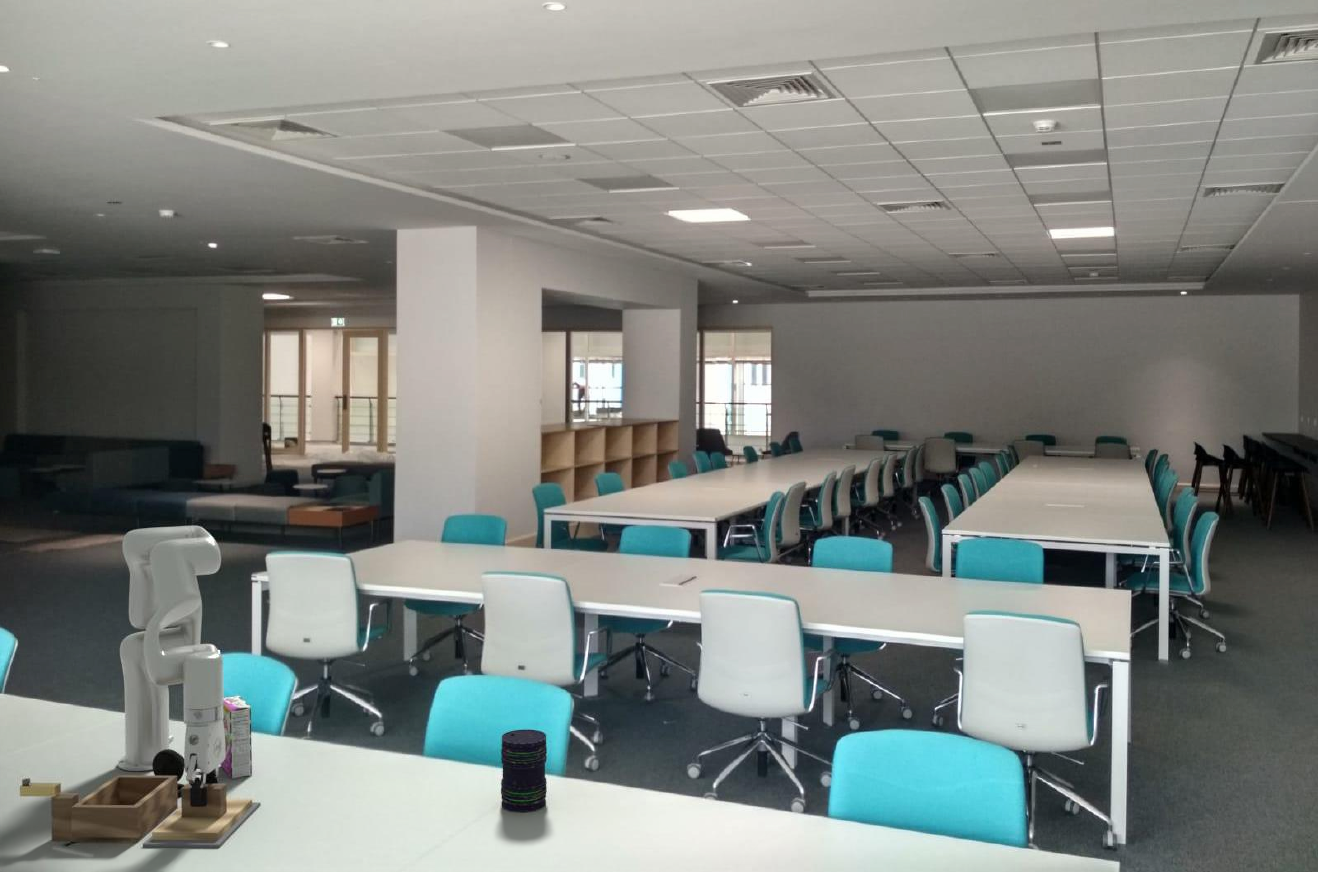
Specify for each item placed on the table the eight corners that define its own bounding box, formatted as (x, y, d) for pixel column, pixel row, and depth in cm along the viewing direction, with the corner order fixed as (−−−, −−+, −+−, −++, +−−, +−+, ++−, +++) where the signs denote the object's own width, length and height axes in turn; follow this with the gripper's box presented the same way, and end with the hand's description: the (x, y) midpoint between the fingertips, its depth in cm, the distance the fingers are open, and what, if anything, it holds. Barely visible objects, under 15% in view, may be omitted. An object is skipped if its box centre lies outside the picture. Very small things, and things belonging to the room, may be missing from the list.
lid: (191, 805, 235) (191, 770, 234) (252, 806, 234) (252, 771, 234) (152, 839, 217) (151, 802, 216) (218, 840, 216) (217, 802, 216)
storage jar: (555, 800, 241) (555, 733, 240) (531, 816, 232) (531, 746, 231) (516, 793, 245) (516, 727, 244) (491, 808, 236) (491, 739, 235)
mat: (190, 804, 236) (190, 802, 236) (260, 805, 236) (260, 802, 236) (142, 847, 214) (142, 844, 214) (219, 847, 214) (219, 844, 214)
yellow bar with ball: (25, 792, 219) (25, 777, 219) (60, 793, 219) (60, 778, 219) (19, 796, 217) (19, 781, 217) (55, 796, 217) (55, 781, 217)
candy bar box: (218, 766, 261) (218, 698, 260) (240, 762, 263) (240, 694, 263) (230, 780, 251) (229, 709, 251) (252, 776, 254) (252, 706, 254)
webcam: (195, 790, 245) (194, 746, 244) (170, 802, 238) (169, 757, 237) (167, 786, 247) (166, 742, 247) (141, 798, 240) (141, 753, 240)
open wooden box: (96, 807, 234) (96, 768, 234) (177, 808, 234) (177, 768, 234) (49, 842, 216) (49, 799, 216) (137, 842, 216) (137, 800, 216)
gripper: (204, 726, 216) (205, 817, 217) (237, 702, 233) (238, 786, 234) (166, 726, 216) (167, 817, 217) (202, 701, 233) (203, 786, 234)
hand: (204, 800), depth 225 cm, fingers open, 4 cm apart
